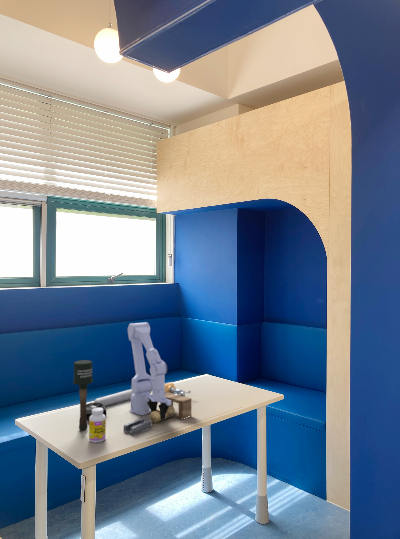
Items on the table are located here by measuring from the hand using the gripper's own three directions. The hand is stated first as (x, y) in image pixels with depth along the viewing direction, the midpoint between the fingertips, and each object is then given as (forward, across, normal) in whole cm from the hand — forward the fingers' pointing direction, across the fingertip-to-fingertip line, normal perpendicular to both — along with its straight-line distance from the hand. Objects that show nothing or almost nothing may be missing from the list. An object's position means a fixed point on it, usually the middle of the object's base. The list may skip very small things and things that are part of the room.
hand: (158, 417), depth 196 cm
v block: (+2, 0, -13) cm, 13 cm away
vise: (+2, -18, +30) cm, 35 cm away
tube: (+2, -36, +4) cm, 37 cm away
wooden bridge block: (+2, 0, +12) cm, 12 cm away
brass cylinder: (+2, 0, +3) cm, 3 cm away
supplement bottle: (+2, -5, -31) cm, 31 cm away
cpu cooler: (+2, -28, -15) cm, 32 cm away
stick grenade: (+2, -19, -28) cm, 34 cm away
